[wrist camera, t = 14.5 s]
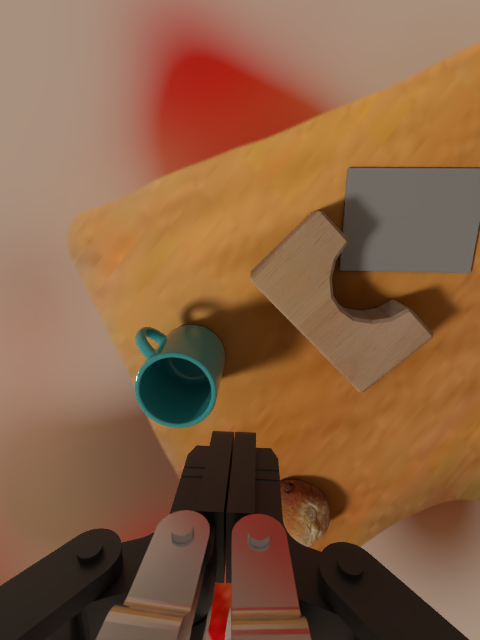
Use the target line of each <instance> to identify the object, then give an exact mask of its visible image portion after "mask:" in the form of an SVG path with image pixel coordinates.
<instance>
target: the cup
mask: <svg viewBox="0 0 480 640" xmlns="http://www.w3.org/2000/svg"><path fill="white" fill-rule="evenodd" d="M146 337H148V338H151V339H153V340H154V341H156V342H157V343H158V344H159V345H158V347H157V348H156V349H154V348H153V347H152V346H151V345H150V344H149V342H148V341H147V339H146ZM135 341H136V344H137V347H138V349H139V350H140V352H141V353H142V354H143V355H144V356H145V358H146V361H145V363H144V364H143V365H142V367H141V368H140V370H139V371H138V373H137V376H136V379H135V395H136V399H137V402H138V404H139V406H140V407H141V409H142V410H143V411H144V413H145V414H146V415H147V416H148V417H150V418H151V419H152V420H154V421H155V422H157V423H159V424H161V425H164V426H167V427H173V428H185V427H189V426H193V425H195V424H197V423H199V422H201V421H202V420H204V419H205V418H206V417H207V416H208V415H209V414H210V412H211V411H212V409H213V407H214V405H215V402H216V398H217V394H218V390H219V386H220V382H221V378H222V373H223V369H224V365H225V350H224V347H223V344H222V342H221V341H220V339H219V338H218V337H217V336H216V335H215V334H214V333H213V332H212V331H210V330H209V329H207V328H205V327H202V326H198V325H184V326H180V327H178V328H176V329H174V330H172V331H171V332H170V333H169V334H168V335H167V336H165V335H164V334H163V333H161V332H160V331H158V330H156V329H154V328H151V327H144V328H141V329H140V330H139V331H138V332H137V334H136V336H135Z"/></svg>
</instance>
